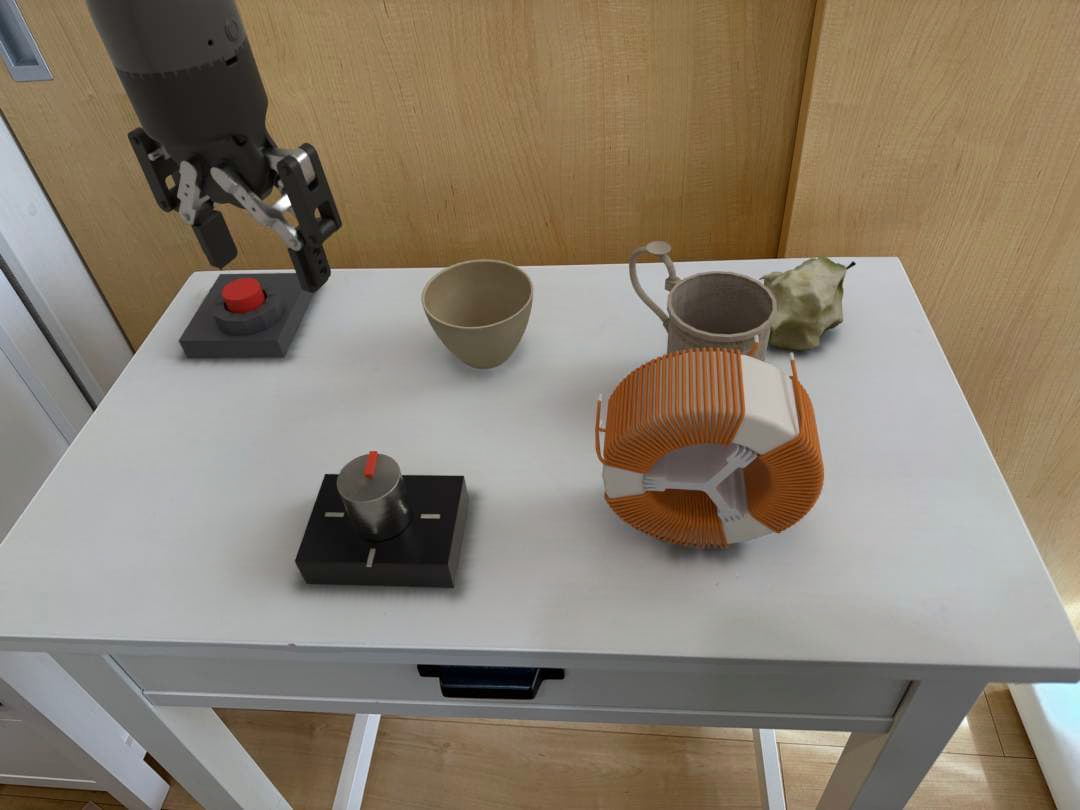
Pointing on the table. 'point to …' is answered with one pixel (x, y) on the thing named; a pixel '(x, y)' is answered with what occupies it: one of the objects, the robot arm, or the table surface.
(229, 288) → the button
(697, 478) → the coil
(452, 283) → the bowl
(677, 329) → the mug
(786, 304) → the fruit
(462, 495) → the timer panel
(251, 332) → the button block
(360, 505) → the timer knob
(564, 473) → the table surface
